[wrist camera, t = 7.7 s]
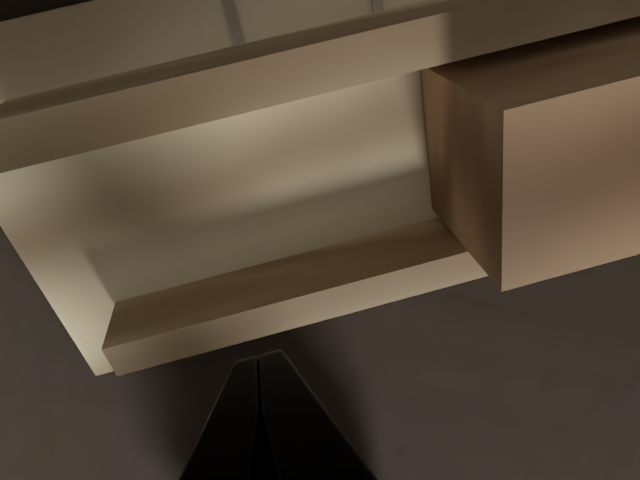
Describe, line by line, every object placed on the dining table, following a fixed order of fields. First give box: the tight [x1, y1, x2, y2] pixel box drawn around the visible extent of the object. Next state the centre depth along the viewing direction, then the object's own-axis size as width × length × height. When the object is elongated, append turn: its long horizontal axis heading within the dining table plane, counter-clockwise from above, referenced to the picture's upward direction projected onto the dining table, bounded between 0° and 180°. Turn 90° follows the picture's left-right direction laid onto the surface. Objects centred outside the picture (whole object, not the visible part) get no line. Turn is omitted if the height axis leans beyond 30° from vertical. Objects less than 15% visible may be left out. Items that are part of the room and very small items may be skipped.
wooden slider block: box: [421, 16, 640, 292], centre depth 13 cm, size 8×9×6 cm
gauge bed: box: [0, 0, 640, 376], centre depth 15 cm, size 12×30×4 cm, turn 101°
